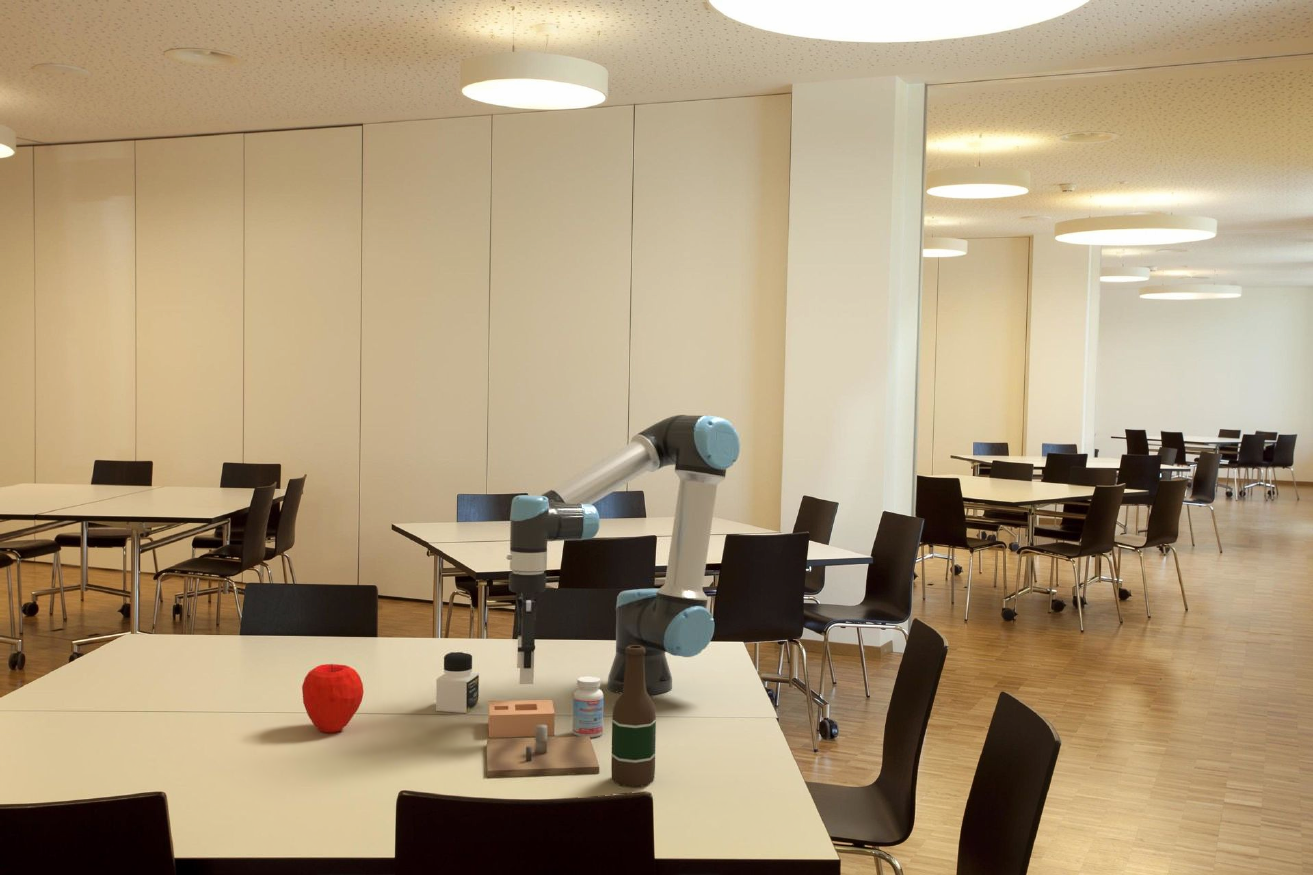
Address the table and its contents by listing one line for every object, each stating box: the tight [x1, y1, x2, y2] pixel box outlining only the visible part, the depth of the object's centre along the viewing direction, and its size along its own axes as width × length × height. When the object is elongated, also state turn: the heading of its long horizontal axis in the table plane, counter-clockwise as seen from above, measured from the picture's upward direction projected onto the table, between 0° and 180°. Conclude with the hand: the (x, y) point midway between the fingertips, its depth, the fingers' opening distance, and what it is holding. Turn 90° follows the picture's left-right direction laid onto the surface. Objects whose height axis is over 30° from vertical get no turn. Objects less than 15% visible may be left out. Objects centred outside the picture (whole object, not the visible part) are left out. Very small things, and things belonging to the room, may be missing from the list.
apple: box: [301, 663, 365, 734], centre depth 222 cm, size 12×12×13 cm
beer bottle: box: [610, 645, 657, 788], centre depth 196 cm, size 8×8×24 cm
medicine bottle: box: [435, 651, 480, 714], centre depth 239 cm, size 7×7×12 cm
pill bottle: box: [572, 675, 604, 739], centre depth 223 cm, size 6×6×11 cm
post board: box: [486, 724, 600, 778], centre depth 207 cm, size 20×18×6 cm
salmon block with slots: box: [488, 699, 556, 739], centre depth 225 cm, size 13×10×4 cm
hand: (525, 675), depth 225 cm, fingers open, 13 cm apart
